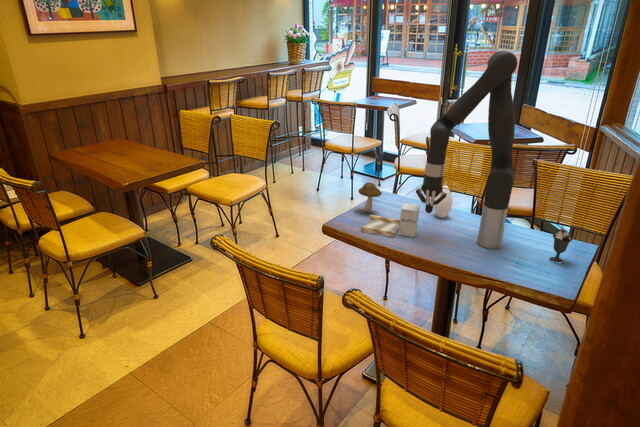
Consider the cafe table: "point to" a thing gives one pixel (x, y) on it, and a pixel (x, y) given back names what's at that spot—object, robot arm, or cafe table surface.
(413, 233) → the supplement box
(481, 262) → the cafe table surface
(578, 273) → the cafe table surface
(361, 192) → the mushroom
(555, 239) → the sundae
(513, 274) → the cafe table surface
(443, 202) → the sauce bottle
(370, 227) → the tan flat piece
